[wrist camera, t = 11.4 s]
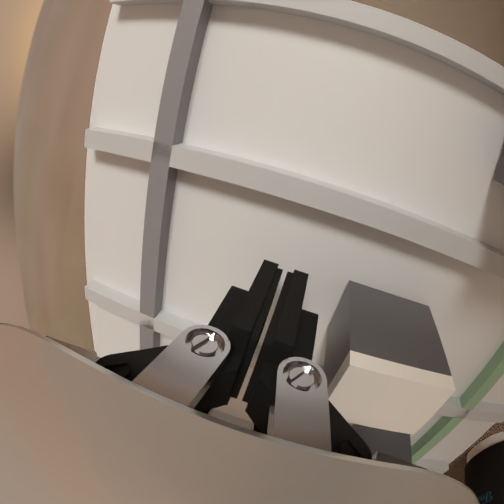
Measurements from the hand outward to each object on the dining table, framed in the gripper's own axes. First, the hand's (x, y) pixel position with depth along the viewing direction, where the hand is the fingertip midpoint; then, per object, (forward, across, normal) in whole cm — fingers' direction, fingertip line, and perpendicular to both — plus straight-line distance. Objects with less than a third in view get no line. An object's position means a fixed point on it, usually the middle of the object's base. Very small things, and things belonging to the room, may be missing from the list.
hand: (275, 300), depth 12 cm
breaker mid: (+1, -4, 0) cm, 4 cm away
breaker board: (+3, -3, 0) cm, 4 cm away
